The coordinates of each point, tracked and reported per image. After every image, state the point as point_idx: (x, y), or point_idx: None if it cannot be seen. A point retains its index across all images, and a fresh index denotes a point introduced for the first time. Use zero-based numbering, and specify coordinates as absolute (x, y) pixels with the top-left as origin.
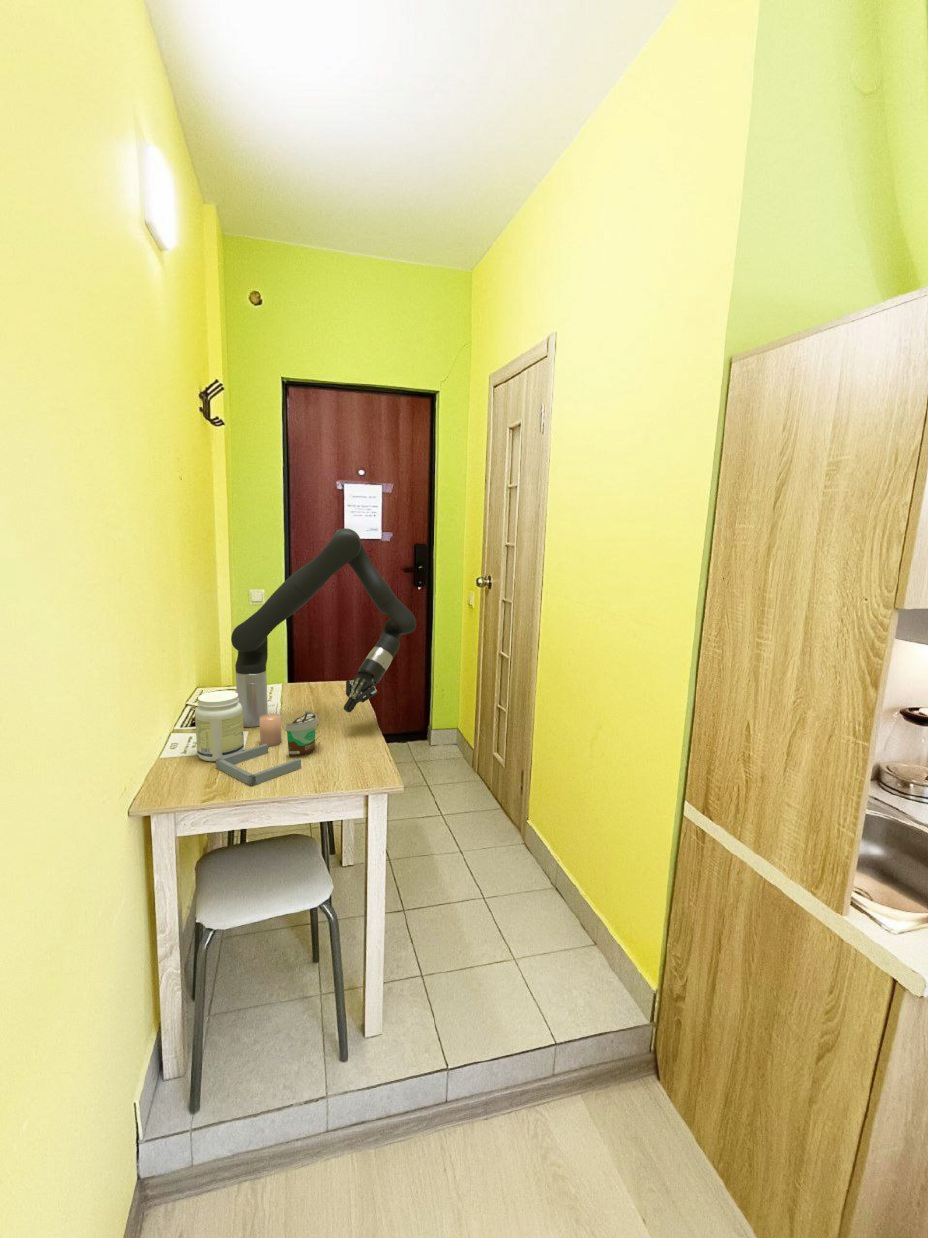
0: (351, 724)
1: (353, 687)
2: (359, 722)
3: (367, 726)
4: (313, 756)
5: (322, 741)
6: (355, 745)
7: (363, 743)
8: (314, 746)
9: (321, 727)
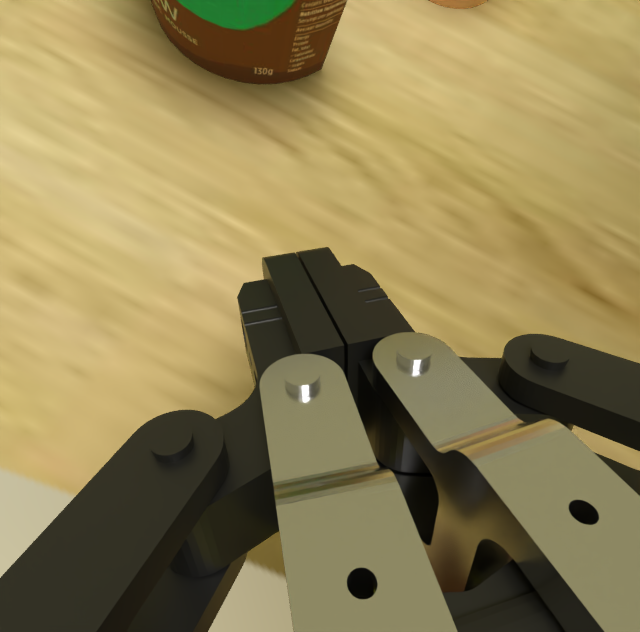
0: None
1: (580, 489)
2: None
3: None
4: (100, 7)
5: (298, 170)
6: (78, 306)
7: (71, 376)
8: (186, 40)
9: (537, 291)
